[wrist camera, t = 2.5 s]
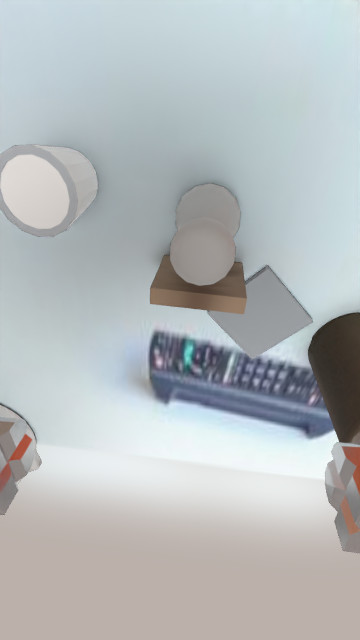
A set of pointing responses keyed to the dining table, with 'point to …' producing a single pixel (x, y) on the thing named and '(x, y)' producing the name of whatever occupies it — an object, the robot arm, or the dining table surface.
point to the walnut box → (199, 290)
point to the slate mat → (263, 315)
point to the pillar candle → (339, 373)
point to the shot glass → (45, 187)
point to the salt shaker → (205, 234)
